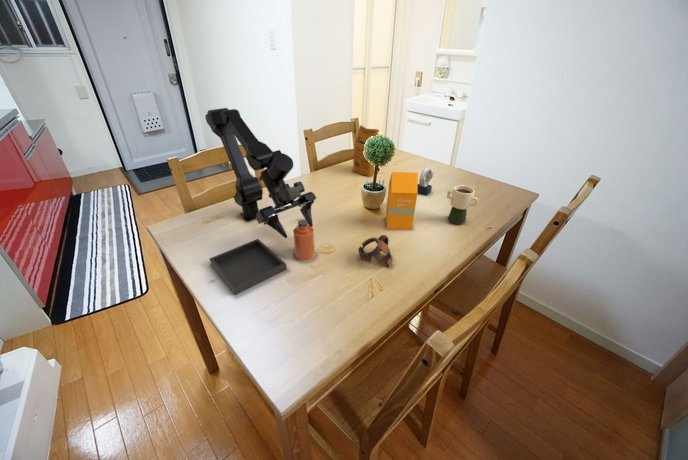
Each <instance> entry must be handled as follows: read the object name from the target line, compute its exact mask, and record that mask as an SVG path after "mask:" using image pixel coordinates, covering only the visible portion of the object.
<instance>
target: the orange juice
mask: <svg viewBox="0 0 688 460" xmlns="http://www.w3.org/2000/svg"><path fill="white" fill-rule="evenodd" d="M418 181H419V172H409V171H408V172H407V171H391V174H390V178H389V183H388V191H387V198H386V209H385V210H386V211H385V225H386V229H387V230H413V229H412V228H413V223H414V218H415V211H416V206H417V205H416V204H417V198H418V194H419V193H418V192H417V187H418V184H419V183H418Z"/></svg>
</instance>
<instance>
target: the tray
mask: <svg viewBox="0 0 688 460" xmlns="http://www.w3.org/2000/svg"><path fill="white" fill-rule="evenodd" d="M209 262H210V265H211V267H213V269H214V271H216V272H217V274H218V275H219V277H221V279H222V280H223V281H224V282H225V283H226V285H227V286H228V287H229V288H230V290H231V291H232V292H233V294H234V295H235V296H237V295H240V294H241V293H243V292H246V291H247V290H249V289H251V288H253V287H255V286H258V285H259V284H261V283H263V282H266V281H267V280H270V279H271V278H273V277H276V276H277V275H279V274H281V273H283V272H286V271H287V270H288V269H287V263H286V262H285V261H283V259H281V258H280V257H279V256H278V255H277V254H276V253H275V252H273V250H272V249H270V248H269V247H268V246H267V244H265V243H263V242H262V240H260V239H259V238H256V239H254V240H251V241H249V242H246V243H244V244H241V245H239V246H237V247H234V248H231V249H229V250H227V251H224V252H221V253H220V254H217V255H215V256H212V257H210V258H209Z"/></svg>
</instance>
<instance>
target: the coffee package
mask: <svg viewBox="0 0 688 460" xmlns="http://www.w3.org/2000/svg"><path fill="white" fill-rule="evenodd" d="M379 132H380V130H379V129H378V128H367V127H365V126H363V125H362V124H360V125H359V128H358V131H357V134H356V135H357V136H356V138H355V142H354V149H353V155H352V156H353V157H352V158H353V165H352V167H353V169H352V171H353V172H355V173H358V174H359V175H362V176H367V177H371V176H372V175H374V174H375V173H374V166H373V165H371V164H370V163H369V162H368V161H367V160H366V159H365V157H364V155H363V151H364V144H365V142H366V140H367V139H368V138H369V137H371V136H376V135H378V136H379ZM373 173H374V174H373Z"/></svg>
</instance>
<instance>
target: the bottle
mask: <svg viewBox="0 0 688 460" xmlns="http://www.w3.org/2000/svg"><path fill="white" fill-rule="evenodd" d="M292 233H293V234H292V235H293V245H294V254H295V258H296V260H299V261H303V262H304V261H305V262H307V261H310V260H312V259H314V257H315V256H316V249H315V247H316V246H315V230H314V228H313V226H312V227H311V226H309V225H308V221H307V220H305V218H304V219H299V220H298V221H297V225H296V227H295V228H293V230H292Z"/></svg>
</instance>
